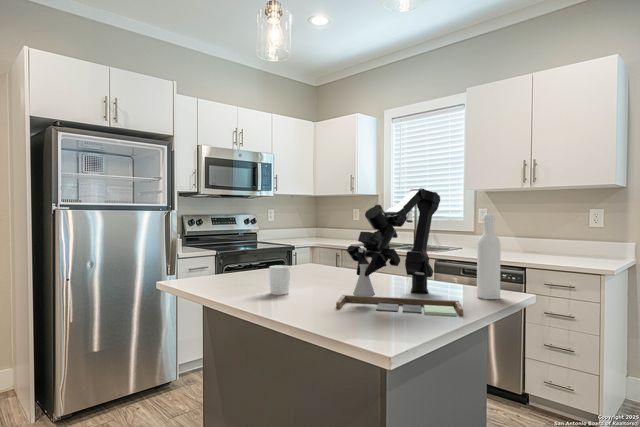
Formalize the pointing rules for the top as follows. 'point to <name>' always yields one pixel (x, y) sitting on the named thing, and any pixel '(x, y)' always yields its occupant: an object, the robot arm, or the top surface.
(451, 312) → the pad
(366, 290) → the flask
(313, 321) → the top surface
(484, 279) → the bottle
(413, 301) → the box
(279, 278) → the white cup
